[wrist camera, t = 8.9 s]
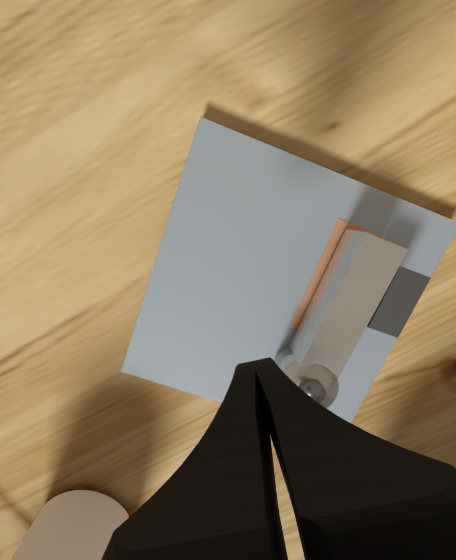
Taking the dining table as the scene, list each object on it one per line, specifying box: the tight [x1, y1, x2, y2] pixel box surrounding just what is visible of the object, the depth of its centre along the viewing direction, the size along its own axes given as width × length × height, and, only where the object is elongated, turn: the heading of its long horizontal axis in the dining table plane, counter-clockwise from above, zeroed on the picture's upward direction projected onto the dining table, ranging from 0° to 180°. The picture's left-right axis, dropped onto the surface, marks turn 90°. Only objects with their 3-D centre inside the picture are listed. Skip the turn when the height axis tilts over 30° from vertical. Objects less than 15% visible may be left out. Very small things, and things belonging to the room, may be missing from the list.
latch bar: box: [275, 229, 408, 408], centre depth 18 cm, size 12×4×3 cm, turn 159°
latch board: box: [121, 117, 456, 423], centre depth 19 cm, size 18×18×4 cm
